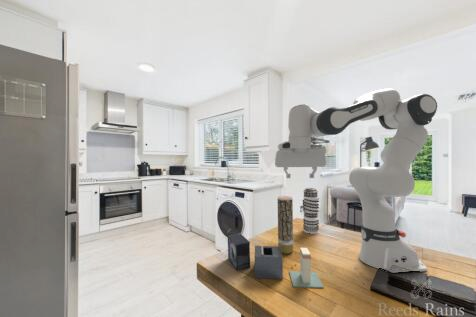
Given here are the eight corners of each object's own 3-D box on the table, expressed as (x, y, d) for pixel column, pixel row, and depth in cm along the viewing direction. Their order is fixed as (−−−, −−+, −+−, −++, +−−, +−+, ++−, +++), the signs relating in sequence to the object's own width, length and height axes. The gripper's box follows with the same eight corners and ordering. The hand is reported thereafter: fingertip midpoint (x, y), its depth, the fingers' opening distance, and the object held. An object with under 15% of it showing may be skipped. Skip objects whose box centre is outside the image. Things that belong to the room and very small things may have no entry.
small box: (227, 258, 90) (226, 234, 90) (240, 255, 93) (240, 232, 93) (235, 271, 81) (235, 244, 80) (251, 267, 83) (250, 241, 83)
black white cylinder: (322, 233, 117) (322, 189, 117) (307, 234, 115) (307, 190, 115) (314, 227, 126) (313, 186, 126) (299, 229, 124) (299, 187, 124)
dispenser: (280, 266, 84) (279, 245, 83) (282, 279, 75) (282, 256, 74) (255, 265, 84) (254, 244, 84) (254, 278, 76) (254, 255, 75)
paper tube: (293, 254, 93) (292, 199, 92) (278, 253, 94) (277, 198, 94) (292, 248, 99) (292, 196, 99) (278, 247, 101) (277, 195, 100)
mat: (316, 272, 78) (316, 271, 78) (323, 288, 69) (323, 286, 69) (289, 271, 79) (289, 270, 79) (293, 286, 70) (293, 285, 70)
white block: (307, 274, 77) (307, 247, 76) (310, 283, 72) (310, 254, 71) (300, 274, 77) (299, 247, 77) (303, 282, 72) (302, 254, 72)
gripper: (323, 144, 87) (323, 177, 88) (274, 145, 89) (274, 177, 90) (328, 143, 81) (328, 178, 81) (275, 144, 83) (276, 179, 83)
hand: (300, 178), depth 86 cm, fingers open, 8 cm apart
